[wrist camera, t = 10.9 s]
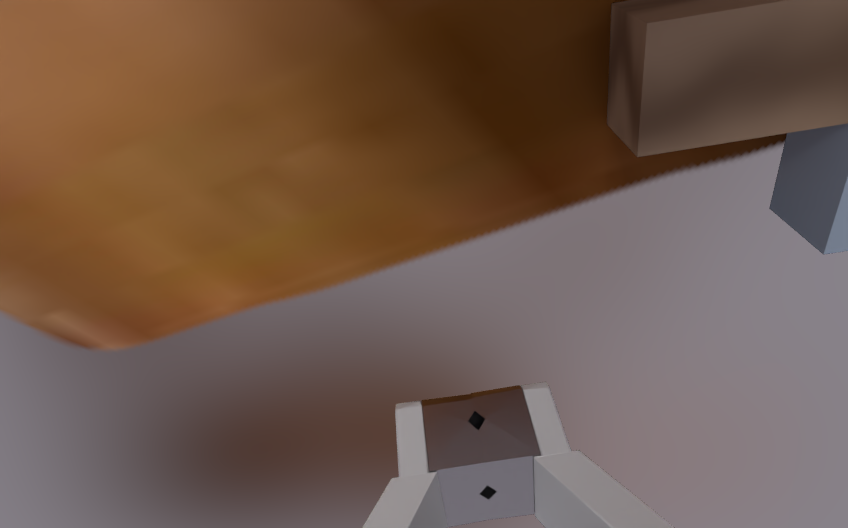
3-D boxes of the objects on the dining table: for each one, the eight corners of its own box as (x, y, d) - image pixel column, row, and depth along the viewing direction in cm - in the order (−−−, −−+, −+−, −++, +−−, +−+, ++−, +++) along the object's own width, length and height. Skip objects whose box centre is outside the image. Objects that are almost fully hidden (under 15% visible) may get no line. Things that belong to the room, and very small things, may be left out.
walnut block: (609, 2, 28) (647, 23, 24) (820, -33, 28) (890, -17, 24) (605, 122, 31) (637, 157, 27) (792, 92, 31) (850, 122, 27)
